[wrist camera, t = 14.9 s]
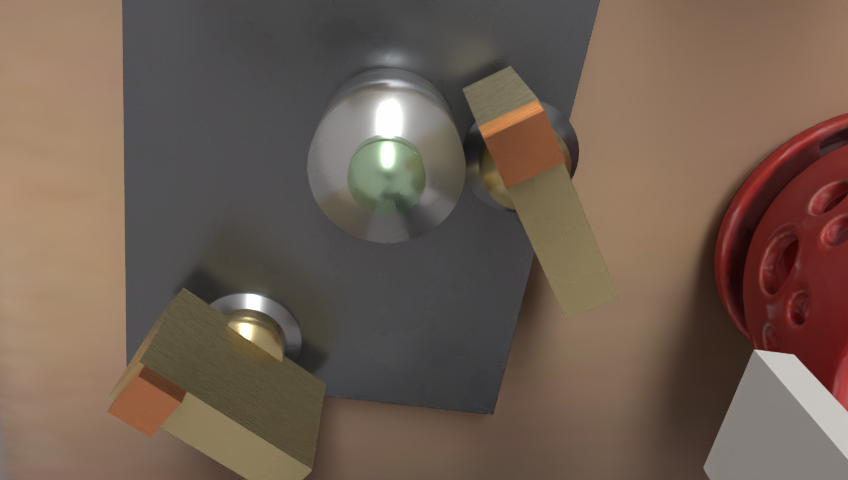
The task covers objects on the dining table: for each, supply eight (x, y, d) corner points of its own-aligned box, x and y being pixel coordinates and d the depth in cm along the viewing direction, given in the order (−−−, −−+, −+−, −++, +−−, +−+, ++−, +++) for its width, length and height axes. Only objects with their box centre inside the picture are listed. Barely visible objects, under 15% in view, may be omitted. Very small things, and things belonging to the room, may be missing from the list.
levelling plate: (501, 389, 33) (526, 496, 26) (142, 347, 31) (79, 452, 25) (652, -191, 23) (747, -236, 17) (142, -298, 21) (38, -392, 15)
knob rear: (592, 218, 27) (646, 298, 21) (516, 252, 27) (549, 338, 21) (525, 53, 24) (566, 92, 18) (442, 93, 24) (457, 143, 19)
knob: (338, 363, 29) (323, 470, 23) (291, 410, 30) (266, 524, 24) (198, 266, 27) (145, 358, 21) (153, 320, 28) (90, 421, 22)
